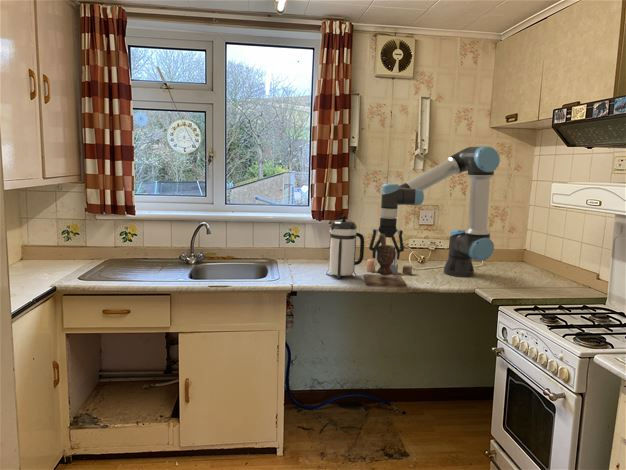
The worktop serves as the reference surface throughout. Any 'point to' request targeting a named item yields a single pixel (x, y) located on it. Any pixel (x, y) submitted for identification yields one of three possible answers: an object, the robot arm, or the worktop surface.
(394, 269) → the slate grey cube
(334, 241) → the coffee press
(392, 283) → the walnut board
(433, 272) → the worktop surface
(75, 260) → the worktop surface
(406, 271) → the dark oak block
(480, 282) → the worktop surface
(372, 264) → the terracotta capsule
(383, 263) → the mortar and pestle
